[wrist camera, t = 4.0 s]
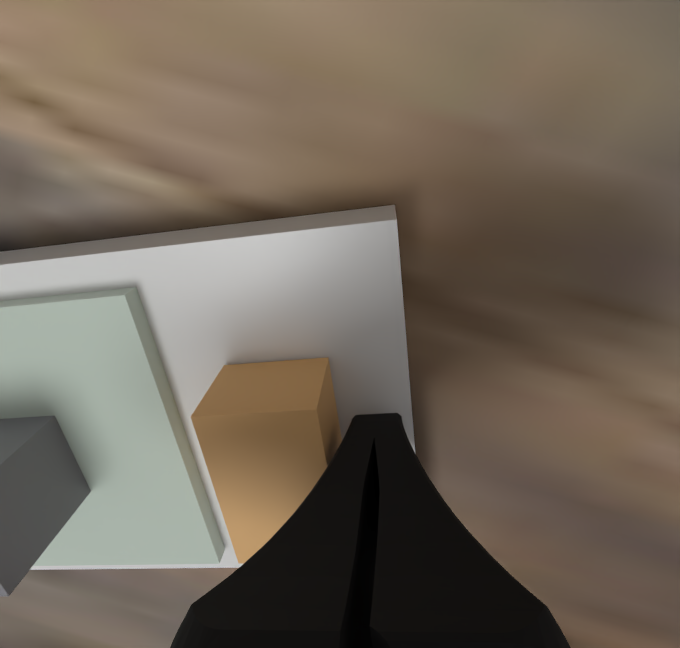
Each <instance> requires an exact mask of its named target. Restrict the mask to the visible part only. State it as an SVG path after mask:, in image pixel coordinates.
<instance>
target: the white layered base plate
mask: <svg viewBox="0 0 680 648" xmlns="http://www.w3.org/2000/svg"><path fill="white" fill-rule="evenodd" d="M132 287H137V290H138V293H139V296H140V299H141V302H142V305H143V308H144V311H145V314H146V317H147V320H148V322H149V325H150V328H151V331H152V334H153V337H154V340H155V343H156V346H157V349H158V352H159V355H160V358H161V361H162V364H163V367H164V370H165V373H166V376H167V378H168V381H169V384H170V387H171V390H172V393H173V396H174V399H175V402H176V405H177V408H178V411H179V414H180V417H181V420H182V423H183V426H184V429H185V432H186V435H187V437H188V440H189V443H190V446H191V449H192V452H193V455H194V458H195V461H196V464H197V467H198V470H199V473H200V476H201V479H202V482H203V485H204V488H205V491H206V493H207V496H208V499H209V502H210V505H211V508H212V511H213V514H214V517H215V520H216V523H217V526H218V529H219V532H220V535H221V538H222V541H223V544H224V547H225V551H224V553H223V556H222V559H221V561H220V564H158V565H71V566H32V567H31V569H30V570H45V569H143V568H240V567H241V566H242V565H243V564H239V563H238V560H237V557H236V554H235V551H234V548H233V545H232V542H231V539H230V536H229V533H228V530H227V527H226V524H225V521H224V517H223V514H222V511H221V508H220V505H219V502H218V499H217V496H216V493H215V490H214V487H213V484H212V481H211V478H210V475H209V472H208V469H207V466H206V463H205V460H204V457H203V453H202V450H201V447H200V444H199V441H198V438H197V435H196V432H195V429H194V426H193V423H192V420H191V415H192V414H193V412H194V411H195V409H196V408H197V406H198V404H199V403H200V401H201V400H202V398H203V397H204V395H205V394H206V392H207V391H208V389H209V387H210V386H211V384H212V383H213V381H214V380H215V378H216V377H217V375H218V373H219V372H220V370H221V369H222V367H223V366H224V365H233V364H246V363H259V362H273V361H286V360H299V359H313V358H326V357H328V358H329V364H330V370H331V376H332V382H333V388H334V395H335V401H336V407H337V413H338V419H339V425H340V431H341V438H342V440H343V438H344V436H345V434H346V432H347V430H348V428H349V425H350V423H351V421H352V418H353V417H354V416H355V415H363V414H382V413H398V414H400V415H401V416H402V422H403V426H404V429H405V432H406V434H407V437H408V439H409V442H410V444H411V446H412V448H413V450H414V452H415V442H414V429H413V417H412V404H411V391H410V379H409V366H408V354H407V341H406V328H405V316H404V303H403V291H402V278H401V265H400V253H399V240H398V228H397V217H396V210H395V205H388V206H380V207H371V208H363V209H354V210H346V211H338V212H329V213H321V214H313V215H304V216H296V217H287V218H279V219H271V220H262V221H254V222H245V223H237V224H229V225H220V226H212V227H203V228H195V229H187V230H178V231H170V232H162V233H153V234H145V235H136V236H128V237H120V238H111V239H103V240H94V241H86V242H78V243H69V244H61V245H53V246H44V247H36V248H27V249H19V250H11V251H2V252H0V301H5V300H15V299H25V298H35V297H44V296H54V295H64V294H74V293H84V292H93V291H103V290H113V289H123V288H132Z"/></svg>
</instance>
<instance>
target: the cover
mask: <svg viewBox="0 0 680 648" xmlns="http://www.w3.org/2000/svg"><path fill="white" fill-rule="evenodd" d="M224 551H225V547H224V544H223V541H222V538H221V535H220V532H219V529H218V526H217V523H216V520H215V517H214V514H213V511H212V508H211V505H210V502H209V499H208V496H207V493H206V491H205V488H204V485H203V482H202V479H201V476H200V473H199V470H198V467H197V464H196V461H195V458H194V455H193V452H192V449H191V446H190V443H189V440H188V437H187V435H186V432H185V429H184V426H183V423H182V420H181V417H180V414H179V411H178V408H177V405H176V402H175V399H174V396H173V393H172V390H171V387H170V384H169V381H168V378H167V376H166V373H165V370H164V367H163V364H162V361H161V358H160V355H159V352H158V349H157V346H156V343H155V340H154V337H153V334H152V331H151V328H150V325H149V322H148V320H147V317H146V314H145V311H144V308H143V305H142V302H141V299H140V296H139V293H138V290H137V287H132V288H123V289H113V290H103V291H93V292H84V293H74V294H64V295H54V296H44V297H35V298H25V299H15V300H5V301H0V596H9V595H10V594H11V593H12V592H13V590H14V589H15V588H16V586H17V585H18V584H19V583H20V581H21V580H22V579H23V578H24V576H25V575H26V574H27V572H28V571H29V570H30V569H31V567H32V566H71V565H158V564H220V561H221V559H222V556H223V553H224Z"/></svg>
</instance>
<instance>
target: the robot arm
mask: <svg viewBox="0 0 680 648" xmlns="http://www.w3.org/2000/svg"><path fill="white" fill-rule="evenodd" d="M170 648H570V646H569V644H568V642H567V640H566V638H565V636H564V635H563V633H562V631H561V629H560V627H559V626H558V624H557V622H556V621H555V619H554V617H553V616H552V614H551V612H550V611H549V609H548V607H547V606H546V605H545V604H543V603H542V602H541V601H540V600H539V599H537V598H536V597H535V596H534V595H533V594H532V593H530V592H529V591H528V590H527V589H526V588H525V587H524V586H522V585H521V584H520V583H519V582H518V581H517V580H516V579H515V578H513V577H512V576H511V575H510V574H509V573H508V572H507V571H506V570H505V569H504V568H503V567H502V566H501V565H500V564H499V563H498V562H497V561H496V560H495V559H494V558H493V557H492V556H491V555H490V554H489V553H488V552H487V551H486V550H485V549H484V548H483V546H482V545H481V544H480V543H479V542H478V541H477V540H476V539H475V538H474V537H473V536H472V535H471V533H470V532H469V531H468V530H467V529H466V528H465V527H464V525H463V524H462V523H461V522H460V521H459V519H458V518H457V517H456V516H455V514H454V513H453V512H452V510H451V509H450V508H449V506H448V505H447V504H446V502H445V501H444V500H443V498H442V497H441V495H440V494H439V493H438V491H437V490H436V488H435V487H434V485H433V483H432V482H431V480H430V479H429V477H428V476H427V474H426V472H425V470H424V469H423V467H422V465H421V463H420V462H419V460H418V458H417V456H416V454H415V452H414V450H413V448H412V446H411V444H410V442H409V439H408V437H407V434H406V432H405V429H404V426H403V422H402V416H401V415H400V414H398V413H382V414H363V415H355V416H354V417H353V418H352V421H351V423H350V425H349V428H348V430H347V432H346V434H345V436H344V438H343V440H342V442H341V444H340V446H339V448H338V449H337V451H336V453H335V455H334V456H333V458H332V460H331V461H330V463H329V465H328V467H327V468H326V470H325V471H324V473H323V474H322V476H321V477H320V479H319V480H318V482H317V483H316V485H315V486H314V487H313V489H312V490H311V492H310V493H309V494H308V496H307V497H306V498H305V500H304V501H303V502H302V504H301V505H300V506H299V507H298V508H297V510H296V511H295V512H294V513H293V515H292V516H291V517H290V518H289V519H288V520H287V521H286V522H285V523H284V525H283V526H282V527H281V528H280V529H279V530H278V531H277V532H276V533H275V534H274V535H273V536H272V538H271V539H270V540H269V541H268V542H267V543H266V544H265V545H264V546H263V547H261V548H260V549H259V550H258V551H257V552H256V553H255V554H254V555H253V556H252V557H250V558H249V559H248V560H247V561H246V562H245V563H244V564H243V565H242V566H241V567H240V568H238V569H237V570H236V571H235V572H234V573H232V574H231V575H230V576H229V577H228V578H226V579H225V580H224V581H222V582H221V583H220V584H218V585H217V586H216V587H214V588H213V589H212V590H210V591H209V592H208V593H206V594H205V595H204V596H202V597H201V598H200V599H198V600H197V601H196V602H194V603H193V604H192V605H191V606H190V608H189V610H188V612H187V614H186V616H185V618H184V620H183V622H182V624H181V625H180V627H179V629H178V632H177V634H176V636H175V638H174V640H173V642H172V645H171V647H170Z"/></svg>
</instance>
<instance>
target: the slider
mask: <svg viewBox="0 0 680 648" xmlns="http://www.w3.org/2000/svg"><path fill="white" fill-rule="evenodd" d="M191 420H192V423H193V426H194V429H195V432H196V435H197V438H198V441H199V444H200V447H201V450H202V453H203V457H204V460H205V463H206V466H207V469H208V472H209V475H210V478H211V481H212V484H213V487H214V490H215V493H216V496H217V499H218V502H219V505H220V508H221V511H222V514H223V517H224V521H225V524H226V527H227V530H228V533H229V536H230V539H231V542H232V545H233V548H234V551H235V554H236V557H237V560H238V563H239V564H244V563H245V562H246V561H247V560H248V559H249V558H250V557H252V556H253V555H254V554H255V553H256V552H257V551H258V550H259V549H260V548H261V547H263V546H264V545H265V544H266V543H267V542H268V541H269V540H270V539H271V538H272V536H273V535H274V534H275V533H276V532H277V531H278V530H279V529H280V528H281V527H282V526H283V525H284V523H285V522H286V521H287V520H288V519H289V518H290V517H291V516H292V515H293V513H294V512H295V511H296V510H297V508H298V507H299V506H300V505H301V504H302V502H303V501H304V500H305V498H306V497H307V496H308V494H309V493H310V492H311V490H312V489H313V487H314V486H315V485H316V483H317V482H318V480H319V479H320V477H321V476H322V474H323V473H324V471H325V470H326V468H327V467H328V465H329V463H330V461H331V460H332V458H333V456H334V455H335V453H336V451H337V449H338V448H339V446H340V444H341V442H342V438H341V431H340V425H339V419H338V413H337V407H336V401H335V395H334V388H333V382H332V376H331V370H330V364H329V358H328V357H326V358H313V359H299V360H286V361H273V362H259V363H246V364H233V365H224V366H223V367H222V369H221V370H220V372H219V373H218V375H217V377H216V378H215V380H214V381H213V383H212V384H211V386H210V387H209V389H208V391H207V392H206V394H205V395H204V397H203V398H202V400H201V401H200V403H199V404H198V406H197V408H196V409H195V411H194V412H193V414H192V415H191Z"/></svg>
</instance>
